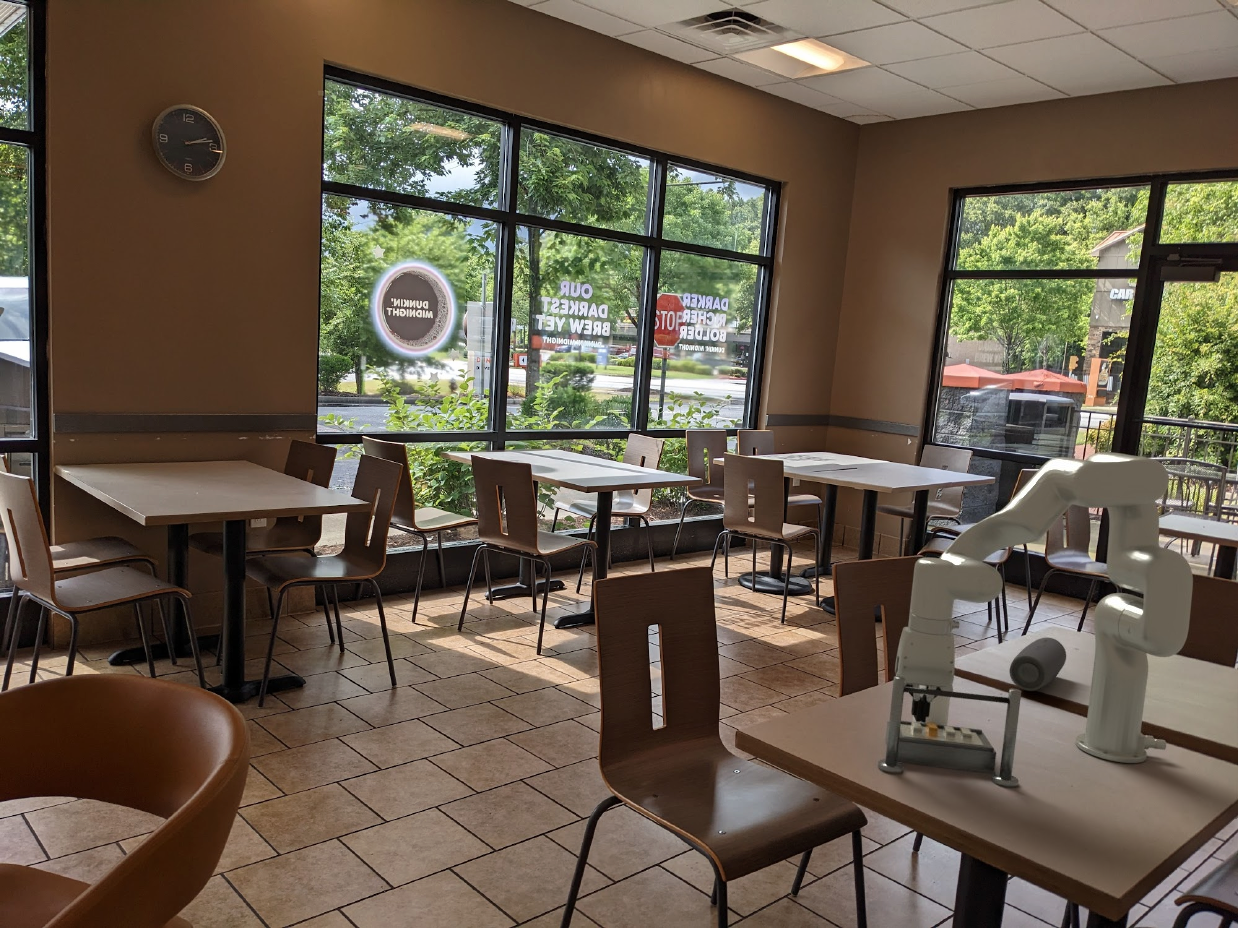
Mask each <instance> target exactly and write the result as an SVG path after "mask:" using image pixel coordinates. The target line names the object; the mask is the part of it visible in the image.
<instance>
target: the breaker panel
mask: <svg viewBox="0 0 1238 928" xmlns="http://www.w3.org/2000/svg"><path fill="white" fill-rule="evenodd" d="M885 729H886V731H885V740H884V741H886V742H885V744H886V746H887V740H888V730H889V721H886V728H885ZM996 758H997V751H996V750H995V748H994V747H993V745H992V743H990V741H989V739H988V738H987V736H986V735H985V733H984V732H983V730H982V729H979V728H969V727H963V726H962V727H961V726H951V725H947V726H944V725H936V724H935V723H930V722H926V723H918V722H913V721H907V720H901V726H900V736H899V746H898V755H897V762H899V763H900V762H902V763H903V764H910V765H920V766H927V767H935V768H942V767H943V769H952V770H959V771H970V772H976V773H978V772H979V773H987V774H994V773H995V768H996V767H995V766H996ZM902 763H901V764H902Z"/></svg>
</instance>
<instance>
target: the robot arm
mask: <svg viewBox="0 0 1238 928" xmlns="http://www.w3.org/2000/svg"><path fill="white" fill-rule="evenodd" d="M1169 483H1170V475H1169V472H1168V470H1167V469H1166V467H1165V466H1164V464H1162V463H1161V462H1160V461H1158V460H1156V459H1153V458H1150V457H1144V456H1137V455H1133V454H1132V455H1130V454H1126V453H1121V452H1120V453H1119V452H1109V451H1103V452H1102V451H1101V452H1095V453H1093V454H1091V455H1089V456H1088V457H1087V458H1086V459H1080V458H1073V457H1069V456H1068V457H1065V456H1058V457H1054V458H1051V459H1049V460H1047V461H1046V462H1045V463H1044V464H1043V465H1042V466H1041V467H1040V468H1038V470H1037V471H1036V472H1035V474H1034V475H1033V476H1032V477H1031V478H1030V479H1029V480H1028V481H1027V482H1026V483H1025V484H1024V485H1023V487H1021V489H1020V490H1019V491H1018V492H1017V493H1016V494H1015V495H1014V497H1013V498H1012V499H1011V500H1010V501H1009V502H1008V503H1007V504H1006V505H1005V506H1004V507H1003V508H1002V509H1001V510H999V511H997V512H996V513H994V514H993V513H992V515H990V516H988V517H986V518H984V519H981V520H980V521H978V522H976V523H975V524H972V525H971V526H970V527H968V528H967V529H966V530H964V531H963V532H961V533H960V534H959V535H958V536H957V537H956V538H955V539H954V540H953V541H952V542H951V544H950V545H949V546H948V547H947V548H946V549H945V550H944V551H943V552H942V553H941V555H940V557H939V558H937V557H922V558H918V559H917V561H915V563H914V569H913V577H912V579H913V580H912V587H911V596H910V606H909V614H908V615H909V616H908V618H909V619H908V624H907V625H908V626H904V627H903V628H902V632H901V634H900V635H901V636H900V637H899V638H900V639H899V642H898V643H899V644H898V648H897V653H896V658H895V659H896V660H895V665H894V667H895V668H894V673H895V676H901V677H904V678H905V687H914V688H920V685H924V686H926V688H925V689H933V690H942V691H951V692H954V687H953V684H954V680H955V665H956V662H955V661H956V660H955V659H956V657H955V653H956V652H955V651H956V650H955V638H954V637H955V636H954V633H953V632H952V631H953V630H955V629H959V628H960V621H958V620H957V621H956V620H954V619H953V611H954V601H955V600H957V601H964V602H970V603H976V604H984V603H989V602H992V601H993V600H995V599H997V598H998V597H999V596H1000V594H1001V592H1002V590H1003V586H1004V585H1003V583H1004V582H1003V581H1004V580H1003V578H1002V575H1001V573H1000V572H999V570H997V569H996V568H995V567H993V566H992V565H990V564H988V563H985V562H984V561H985V560H986V559H987V558H988V557H990V556H992V555H993V554H995V553H997V552H998V551H1002V550H1004V549H1007V548H1010V547H1017V546H1021V545H1027V544H1030V543H1033V542H1036V541H1038V540H1039V541H1040V540H1041V538H1042V537H1044V536H1045V535H1046V533H1047V532H1048V531H1049V530H1050V529H1051V528H1052V527H1053V526H1054V524H1055V523H1056V522H1058V520H1059V519H1060V518H1061V517H1062V515H1064V513H1065V512H1066V511H1068V509H1069V508H1070V507H1071V506H1072V505H1073V506H1074V505H1075V506H1078V507H1083V508H1088V509H1089V508H1090V509H1107V511H1108V517H1109V531H1108V541H1107V542H1108V543H1107V555H1106V573H1107V576H1108V579H1110V581H1111V582H1112V583H1114V584H1116V585H1117V586H1119V587H1122V588H1124V589H1127V590H1130V591H1133V592H1135V593H1139V594H1142V595H1143V598H1142V597H1139V596H1136V595H1134V594H1128V593H1123V592H1116V593H1110V594H1108V595H1106V596H1104V597H1103V598H1101V599H1100V600H1099V602H1098V603H1097V605H1096V607H1095V610H1094V613H1093V627H1094V636H1095V637H1094V639H1095V640H1094V641H1095V648H1094V649H1095V650H1094V661H1093V668H1092V676H1091V677H1092V678H1091V685H1090V693H1089V701H1088V709H1087V717H1086V726H1085V727H1086V728H1085V732H1084V733H1081V734H1078V735H1077V736H1076V737H1075V745H1076V746H1077V747H1078V748H1079V749H1080V750H1081V751H1083V752H1084V753H1087V754H1089V755H1092V756H1094V757H1097V758H1100V759H1104V760H1107V761H1110V762H1111V761H1112V762H1117V763H1126V764H1138V763H1142V762H1144V761H1146V760H1147V756H1148V753H1147V751H1146V750H1149V749H1154V750H1160V751H1161V750H1162V751H1165V750H1167V749H1166V748H1167V742H1166V740H1165V739H1157V738H1154V736H1153V735H1144V734H1143V733H1142V732H1141V730H1142V724H1143V723H1142V722H1143V716H1144V715H1143V714H1144V707H1145V701H1146V699H1145V698H1146V693H1147V683H1148V677H1149V660H1148V655H1151V656H1154V657H1158V658H1169V657H1173V656H1175V655H1177V654H1178V653H1179V652H1180V651H1181V650H1182V649H1183V647H1184V645H1185V643H1186V641H1187V638H1188V633H1189V629H1190V619H1191V610H1192V609H1191V607H1192V598H1193V597H1192V596H1193V585H1194V584H1193V583H1194V577H1193V576H1194V575H1193V571H1192V568H1191V565H1190V564H1189V561H1188V560H1187V559H1186V558H1185V556H1184V555H1182V554H1181V553H1179V552H1178V551H1175V550H1174V549H1169V548H1165V547H1162V546H1160V539H1159V538H1160V536H1159V535H1160V514H1159V509H1158V505H1157V504H1156V503H1157V502H1156V501H1158V500H1159V499H1161V498H1162V497H1163V496H1164V494H1165V493H1166V492H1167V490H1168V489H1169V488H1168V487H1169V486H1170V485H1169ZM908 694H909V695H910V697H912V700H911V701H912V702H911V703H912V704H911V711H910V712H911V716H913V715H914V718H915V720H916V722H920V721H922V722H924V723H925V722H926V717H929V712H930V703H931V702H932V701H933V699H934V698H936V697H937V696H935V695H926V694H924V695H923V697H922V698H921V696H920V694H917V693H908Z"/></svg>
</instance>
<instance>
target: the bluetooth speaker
mask: <svg viewBox="0 0 1238 928" xmlns="http://www.w3.org/2000/svg"><path fill="white" fill-rule="evenodd" d="M1066 660H1067V651H1066V649H1065V646H1064V645H1063V644H1062V643H1061V642H1060V641H1059V640H1057V639H1056V638H1053V637H1041V638H1038V639H1036V640H1034V641H1033V642H1031V643H1030V644H1027V645H1026V646H1025V647H1024V648H1022V650H1021V651H1020V652H1019V653H1018V654H1017V655H1016V656H1015V657H1014V658H1013V660H1012V661H1011V663H1010V667H1009V676H1010V679H1011V681H1012V682H1013V684H1014V685H1016V687H1018V688H1019V689H1022V690H1025V691H1029V692H1034V691H1039V690H1041V689H1042V688H1044V687H1045V686H1046V685H1048V684H1049V683H1051V682H1052V681H1053V680H1055V678H1056V677H1057V676H1058V675H1059V674H1060V672H1061V670H1062V669H1063V667H1064V666H1065V663H1066ZM1040 688H1041V689H1040ZM1038 689H1039V690H1038Z"/></svg>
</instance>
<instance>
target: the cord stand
mask: <svg viewBox="0 0 1238 928" xmlns="http://www.w3.org/2000/svg"><path fill="white" fill-rule="evenodd" d="M892 681H893V682H892V691H891V692H892V693H891V699H890V700H891V702H890V710H889V721H888V722H889V730H888V740H887V745H886V752H885V759H880V760H878V762H877V768H878V769H879V770H880V771H882V772H884V773H886V774H887V773H888V774H893V775H899V774H902V773H904V764H902V763H900V762H897V755H898V746H899V736H900V726H901V721H902V716H903V713H902V712H903V706H904V705H903V704H904V695H905V693H908V694H909V693H917V694H926V695H935V696H944V697H950V698H953V699H954V698H956V699H962V700H974V701H982V702H990V703H998V704H999V703H1003V704H1007V706H1006V715H1005V723H1004V733H1003V741H1002V747H1001V748H1002V750H1001V759H1000V768H999V772H994V774H993V773H991V781H992V783H994V784H995V785H997V786H1000V787H1003V788H1008V789H1009V788H1011V789H1014V788H1017V787H1019V779H1018V778H1017V777H1016V776H1014V775H1013V766H1014V759H1015V758H1014V757H1015V749H1016V741H1017V732H1018V722H1019V716H1020V715H1019V714H1020V709H1021V708H1020V706H1021V697H1022V690H1020V689H1017V688H1014V687H1013V688H1008V696H1007V697H1005V696H995V695H987V694H977V693H968V692H959V691H953V692H951V691H942V690H933V689H923V688H914V687H905V678H904V677H901V676H896V675H895V676H893V680H892Z"/></svg>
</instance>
